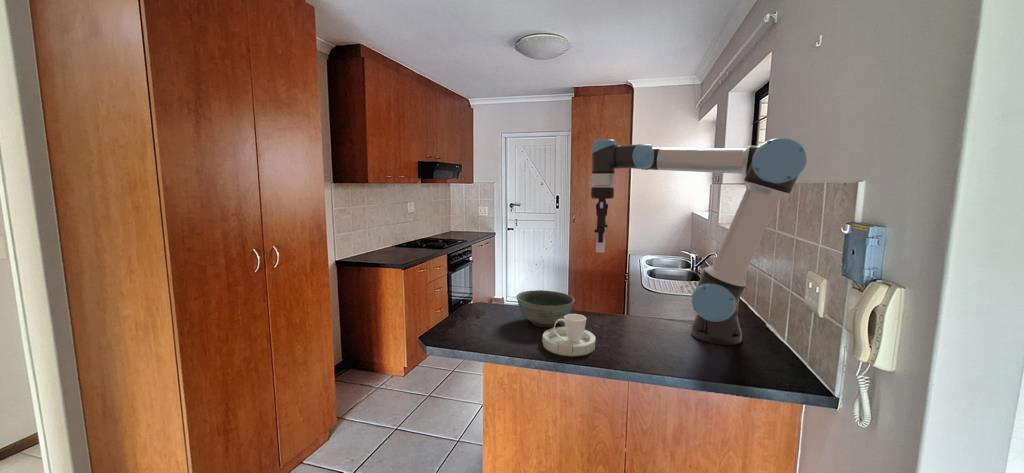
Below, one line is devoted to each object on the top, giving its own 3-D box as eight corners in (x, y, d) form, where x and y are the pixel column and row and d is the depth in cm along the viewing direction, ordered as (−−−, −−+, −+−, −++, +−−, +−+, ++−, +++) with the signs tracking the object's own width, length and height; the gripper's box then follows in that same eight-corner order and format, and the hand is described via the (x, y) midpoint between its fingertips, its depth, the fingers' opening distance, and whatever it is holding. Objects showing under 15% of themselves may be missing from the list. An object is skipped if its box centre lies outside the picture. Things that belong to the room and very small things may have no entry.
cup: (585, 347, 124) (586, 321, 123) (552, 344, 126) (553, 319, 124) (585, 338, 130) (586, 314, 129) (554, 336, 132) (555, 312, 131)
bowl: (504, 326, 143) (505, 298, 142) (533, 310, 161) (533, 285, 160) (558, 339, 133) (559, 309, 131) (582, 320, 150) (583, 294, 149)
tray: (596, 338, 133) (597, 329, 133) (592, 359, 118) (592, 349, 117) (548, 333, 137) (548, 324, 137) (538, 352, 122) (538, 342, 122)
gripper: (592, 186, 150) (591, 243, 153) (589, 187, 126) (587, 254, 129) (613, 186, 148) (612, 243, 151) (614, 187, 124) (611, 255, 127)
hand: (600, 249), depth 140 cm, fingers open, 13 cm apart
